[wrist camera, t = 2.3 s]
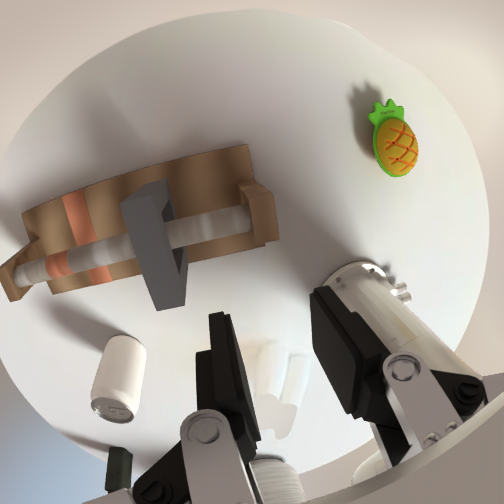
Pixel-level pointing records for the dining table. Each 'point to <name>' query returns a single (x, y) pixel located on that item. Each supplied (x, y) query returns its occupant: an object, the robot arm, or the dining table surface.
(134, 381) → the can
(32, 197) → the dining table surface
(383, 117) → the toy pineapple
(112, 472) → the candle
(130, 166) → the dining table surface
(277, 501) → the vase
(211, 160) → the rail
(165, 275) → the collar
